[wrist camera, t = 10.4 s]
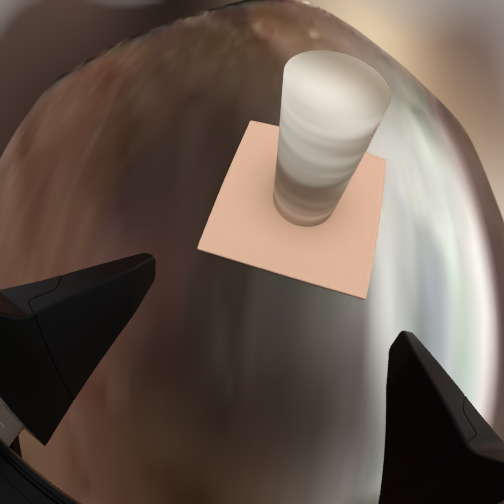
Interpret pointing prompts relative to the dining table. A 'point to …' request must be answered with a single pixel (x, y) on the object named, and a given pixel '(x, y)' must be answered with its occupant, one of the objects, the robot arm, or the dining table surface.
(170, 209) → the dining table surface
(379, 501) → the robot arm
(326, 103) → the white cylinder
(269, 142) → the placemat
